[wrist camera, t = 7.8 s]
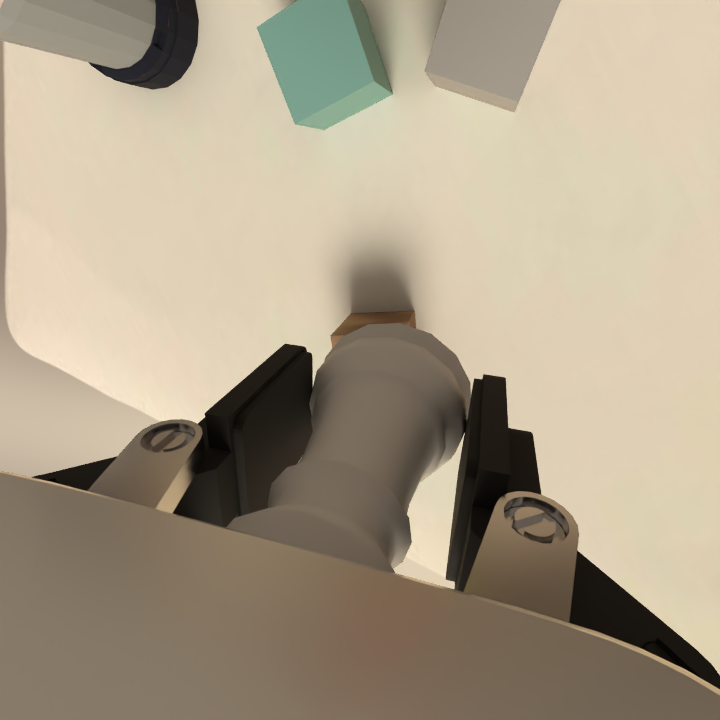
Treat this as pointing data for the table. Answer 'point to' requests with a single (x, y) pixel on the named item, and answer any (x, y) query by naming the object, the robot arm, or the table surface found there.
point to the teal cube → (325, 60)
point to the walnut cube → (372, 322)
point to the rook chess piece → (368, 446)
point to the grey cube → (489, 47)
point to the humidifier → (110, 35)
